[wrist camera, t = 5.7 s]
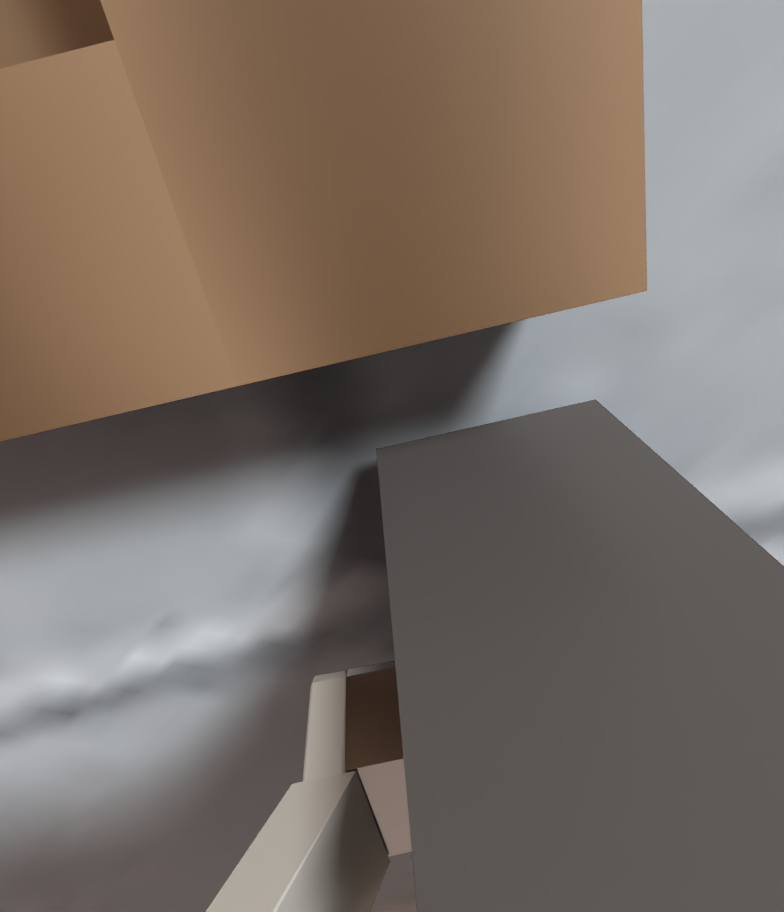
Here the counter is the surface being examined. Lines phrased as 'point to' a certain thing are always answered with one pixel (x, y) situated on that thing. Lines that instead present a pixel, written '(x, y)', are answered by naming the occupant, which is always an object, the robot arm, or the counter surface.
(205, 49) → the dock
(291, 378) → the counter surface
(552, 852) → the block
